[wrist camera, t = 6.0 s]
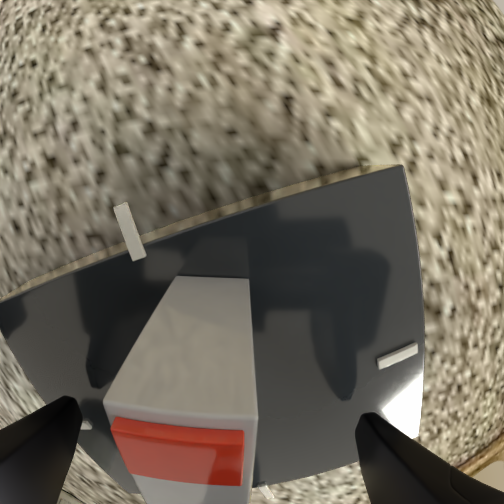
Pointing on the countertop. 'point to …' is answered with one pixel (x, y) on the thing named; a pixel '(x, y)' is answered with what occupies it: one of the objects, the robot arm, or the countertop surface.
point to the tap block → (253, 315)
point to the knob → (190, 396)
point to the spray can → (67, 499)
